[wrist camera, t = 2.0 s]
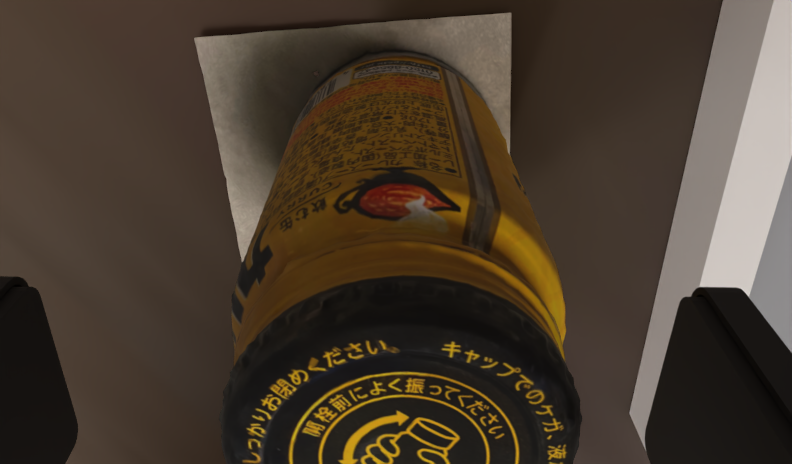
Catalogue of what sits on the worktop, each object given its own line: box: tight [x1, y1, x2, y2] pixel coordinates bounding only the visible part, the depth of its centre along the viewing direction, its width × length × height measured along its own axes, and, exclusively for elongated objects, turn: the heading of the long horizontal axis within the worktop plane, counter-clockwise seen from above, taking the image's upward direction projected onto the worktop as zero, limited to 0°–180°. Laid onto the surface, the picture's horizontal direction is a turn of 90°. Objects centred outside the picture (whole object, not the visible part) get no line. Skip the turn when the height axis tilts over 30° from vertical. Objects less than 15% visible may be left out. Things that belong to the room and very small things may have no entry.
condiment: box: [194, 13, 582, 464], centre depth 15 cm, size 7×8×12 cm
